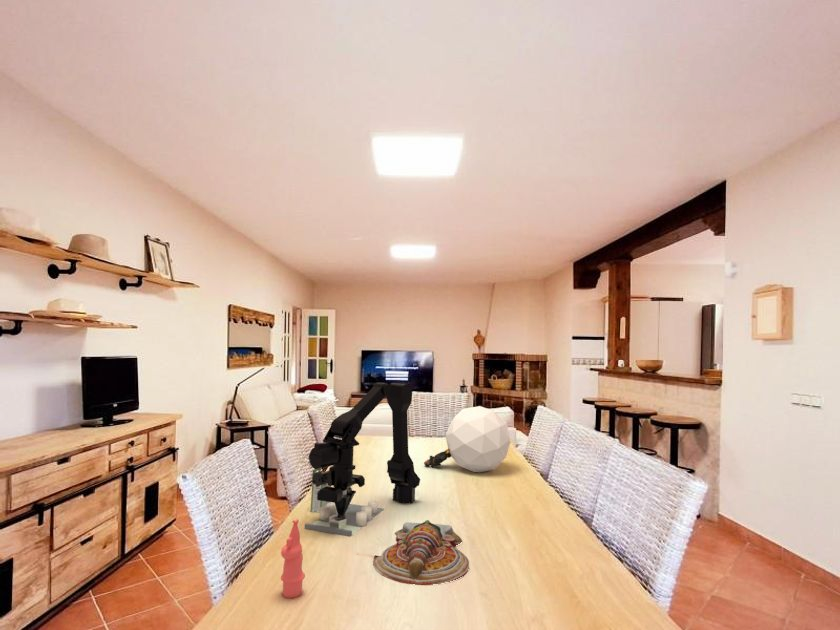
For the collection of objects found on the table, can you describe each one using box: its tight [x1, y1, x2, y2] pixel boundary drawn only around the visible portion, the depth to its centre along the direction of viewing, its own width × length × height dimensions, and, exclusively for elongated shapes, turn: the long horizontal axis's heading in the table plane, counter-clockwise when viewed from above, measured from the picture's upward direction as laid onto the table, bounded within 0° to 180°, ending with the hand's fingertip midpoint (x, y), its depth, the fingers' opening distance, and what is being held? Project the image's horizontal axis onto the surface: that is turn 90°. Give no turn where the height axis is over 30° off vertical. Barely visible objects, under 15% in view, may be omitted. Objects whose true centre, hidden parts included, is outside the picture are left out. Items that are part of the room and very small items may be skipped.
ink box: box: [310, 468, 332, 514], centre depth 150 cm, size 7×4×13 cm, turn 168°
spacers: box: [319, 500, 378, 528], centre depth 145 cm, size 14×14×3 cm
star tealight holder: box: [328, 514, 346, 529], centre depth 136 cm, size 5×5×2 cm
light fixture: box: [423, 405, 511, 473], centre depth 208 cm, size 27×40×28 cm
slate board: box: [304, 503, 385, 537], centre depth 143 cm, size 14×24×2 cm, turn 162°
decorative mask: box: [372, 519, 470, 586], centre depth 121 cm, size 24×8×30 cm
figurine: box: [280, 518, 306, 599], centre depth 102 cm, size 5×5×15 cm
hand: (340, 517), depth 139 cm, fingers closed
